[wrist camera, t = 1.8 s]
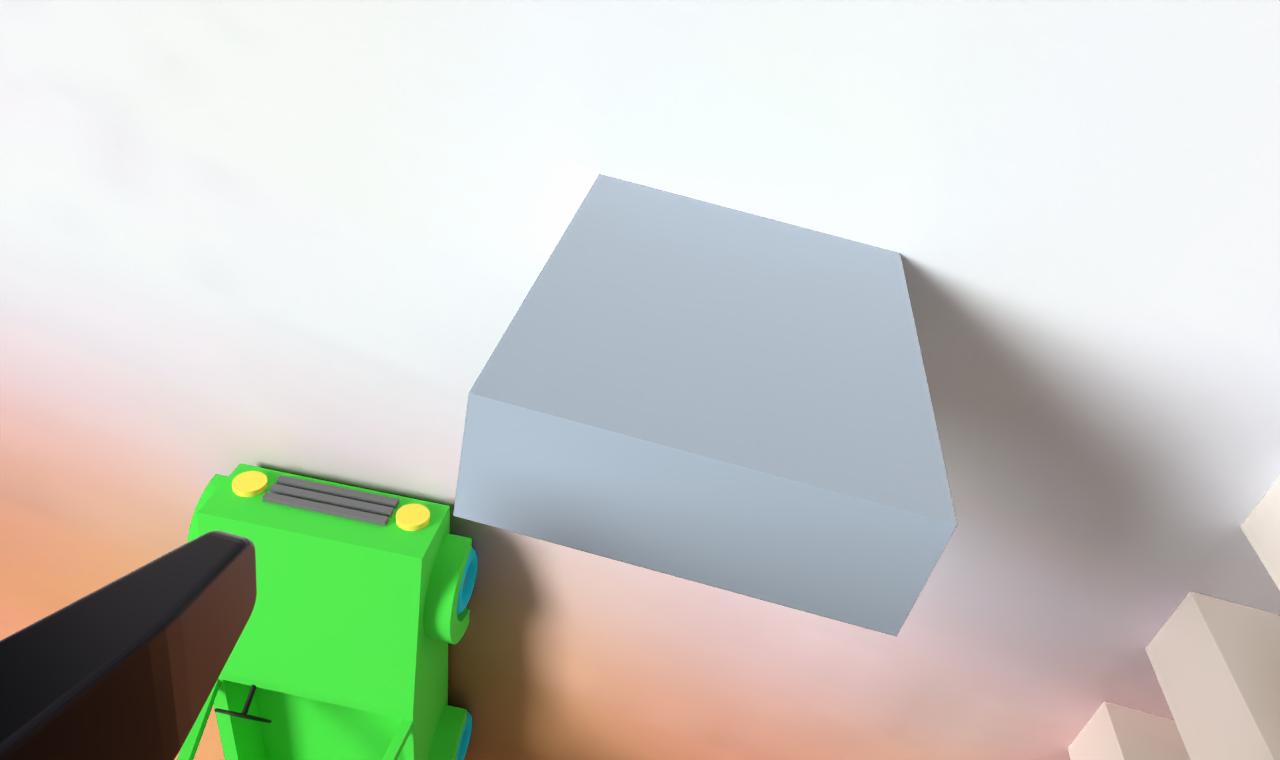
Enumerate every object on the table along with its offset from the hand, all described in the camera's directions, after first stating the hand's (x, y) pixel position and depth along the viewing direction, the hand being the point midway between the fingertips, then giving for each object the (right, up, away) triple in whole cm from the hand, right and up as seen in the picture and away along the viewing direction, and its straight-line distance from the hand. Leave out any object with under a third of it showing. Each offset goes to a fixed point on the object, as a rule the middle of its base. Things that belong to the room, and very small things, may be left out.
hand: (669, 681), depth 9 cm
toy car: (-8, -4, +17) cm, 19 cm away
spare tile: (+2, +5, +9) cm, 10 cm away
